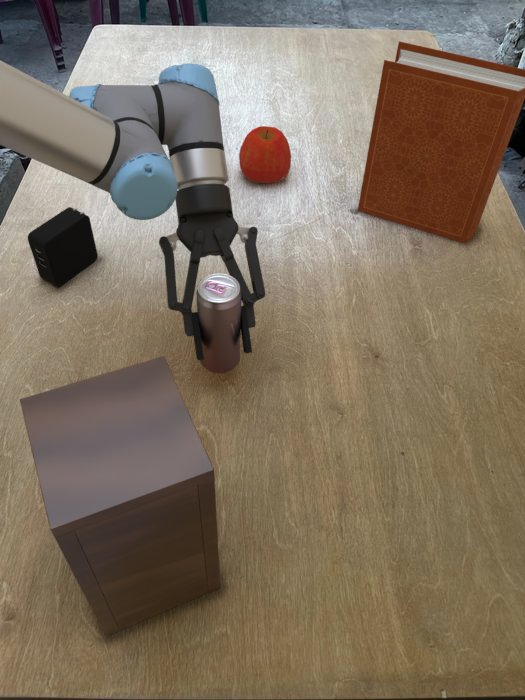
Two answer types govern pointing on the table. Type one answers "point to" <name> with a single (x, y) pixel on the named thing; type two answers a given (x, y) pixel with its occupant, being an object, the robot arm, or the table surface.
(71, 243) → the electronic device
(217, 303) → the beverage can
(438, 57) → the book
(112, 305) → the table surface
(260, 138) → the apple
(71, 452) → the stand
